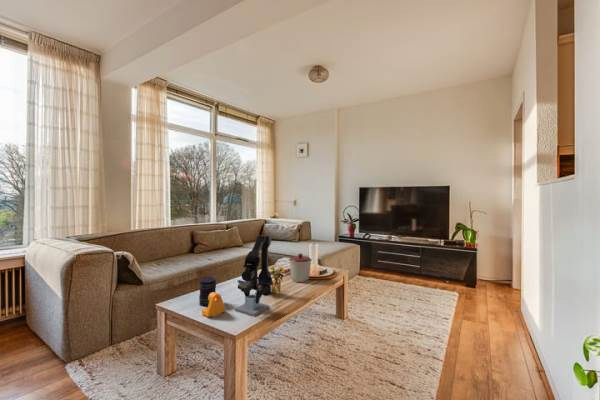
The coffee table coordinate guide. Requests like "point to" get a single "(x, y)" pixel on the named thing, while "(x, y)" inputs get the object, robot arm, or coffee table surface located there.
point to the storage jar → (206, 290)
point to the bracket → (214, 305)
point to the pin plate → (252, 312)
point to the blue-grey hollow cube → (251, 302)
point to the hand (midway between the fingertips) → (252, 302)
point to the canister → (300, 268)
